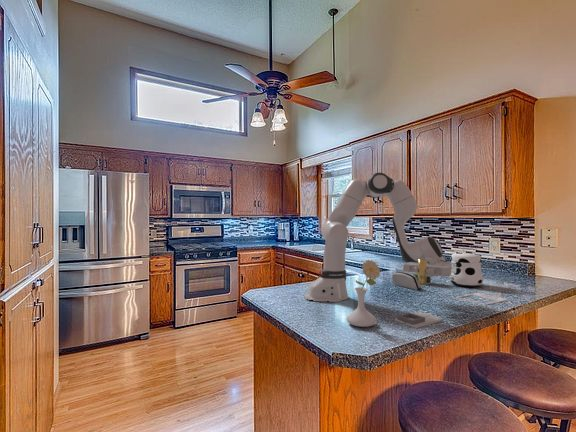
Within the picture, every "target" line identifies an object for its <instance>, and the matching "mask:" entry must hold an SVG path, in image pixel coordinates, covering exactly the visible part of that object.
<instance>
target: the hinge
mask: <svg viewBox="0 0 576 432" xmlns="http://www.w3.org/2000/svg"><path fill="white" fill-rule="evenodd" d="M391 276H392V282H393V285H395V286H399V287H404V288H407V289H410V290H411V289H412V290H415V291H416V290H418V289H420V290H422V285H419V283H418V280H417V278H416V276H415V275H413V273H412V272H407V271H403V270H402V271H396V272H394V273H393V274H392V275H391Z"/></svg>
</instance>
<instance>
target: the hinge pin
mask: <svg viewBox="0 0 576 432" xmlns="http://www.w3.org/2000/svg"><path fill="white" fill-rule="evenodd" d="M418 278H419V285H420V286H423V287H424V286H428V285H427V278H426V259H418Z"/></svg>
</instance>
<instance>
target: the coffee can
mask: <svg viewBox="0 0 576 432" xmlns="http://www.w3.org/2000/svg"><path fill="white" fill-rule="evenodd" d="M417 263H418V262H417ZM412 274H413V275H415V276H416V278H417V280H418V283H419V278H418V273H416V272H412ZM426 278H427V285H426V286H428V285H431V284H432V283H431V280H432V279H431V278H432V277H428V276H426Z"/></svg>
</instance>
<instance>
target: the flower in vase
mask: <svg viewBox="0 0 576 432" xmlns="http://www.w3.org/2000/svg"><path fill="white" fill-rule="evenodd" d="M361 270H362V273H364V275H365V277H366V279H365V281H364V283H363V282H361V281H358V280H355V283H356V284H358V285H361V286H362V287H360V286H359V287H355V288H354V290H355V292H356V294H357V300H358V301H357V308H355V310H353V311H351V312H350V313H349V314H348V315H347V316H346V319H345V320H346V322H347V323H349V324H350V325H352V326H354V327H355V326H356V327H361V328H366V327H367V328H368V327H372V326H374V325H376V323H377V319H376V317H375V316H374V315H373V314H372V313H371V312H370V311H369V310H367V309H366V306H365V297H366V293H367V291H368V290H369V288H367V287H364V286H365V285H366V283H367V284H368V285H369V286H373V285H376V284H377V282H376V281H375V280H377V279H378V278H379V277H381V268H380V267H379V265H378V264H377V263H376V262H375V260H374V261H373V260H372V259H371V260H370V259H367V260H365V261H364V262H362V269H361Z"/></svg>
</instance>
